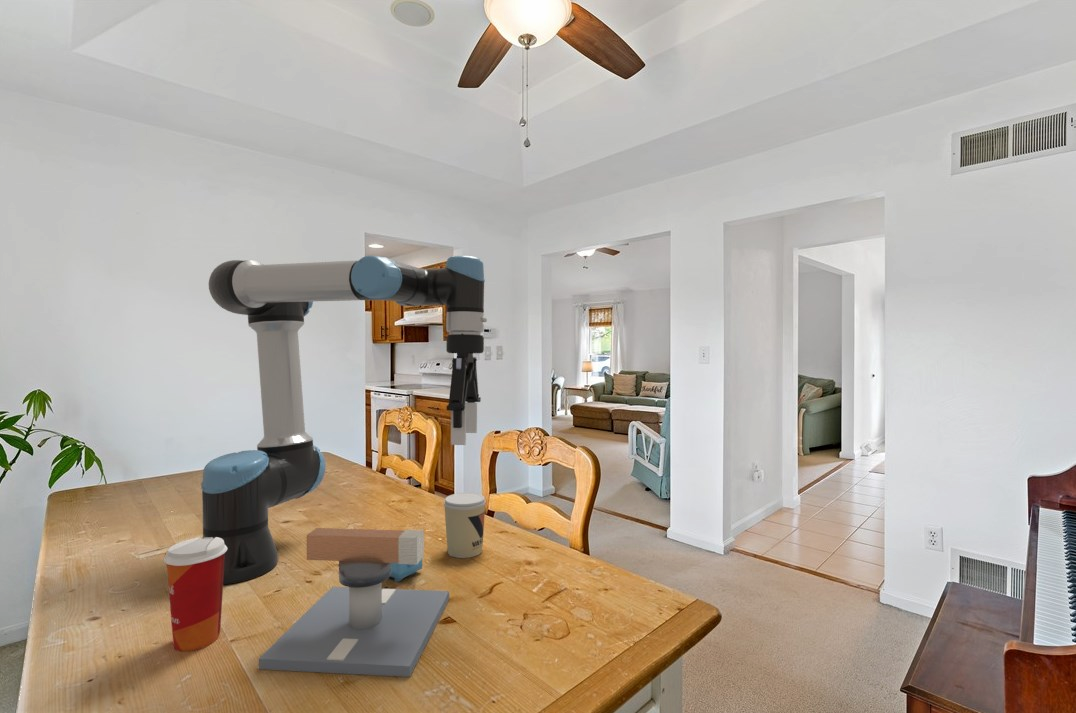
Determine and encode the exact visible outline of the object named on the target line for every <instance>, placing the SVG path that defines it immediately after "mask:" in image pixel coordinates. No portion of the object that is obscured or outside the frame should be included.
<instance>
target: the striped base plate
mask: <svg viewBox="0 0 1076 713" xmlns="http://www.w3.org/2000/svg"><path fill="white" fill-rule="evenodd" d="M382 583H383V582H382ZM382 583H379V584H376V585H373V586H369V587H360V588H353V587H347V586H331V588H329V589H328V590H327V592H326V593H324V595H322V596H321V597H320V599H318V600H317V601H316V602H314V604H313V605H312V606H311V607H310V608H309V609H308V610H307V611H306V612H305V613H304V614H303V615H302V616H301V617H300V618H299V619H297V621H295V622H294V624H293V625H292V626H291V627H290V628H288V629H287V631H285V632H284V633H283V634H282V635H281V636H280V637H279V638H277V640H276V641H275V642H274V643H273V644H272V645H271V646H270V647H269V648H268V649H267V650H266V651H265V652H264V653H263V654H262V655H260V657H259V658H258V670H265V669H266V670H267V669H268V670H269V671H285V672H286V670H287V672H305V671H306V672H307V673H322V674H323V673H324V674H325V673H326V674H327V673H328V674H344V675H345V674H346V675H347V674H348V675H361V676H362V675H366V676H367V675H368V676H383V677H385V676H386V677H403V678H405V677H406V678H410V677H411V676H412V673H413V671H414V669H415V668H416V665H417V663H418V662H419V659H420V658H421V656H422V654H423V652H424V650H425V648H426V646H427V645H428V642H429V640H430V638H431V636H432V634H433V633H434V630H435V628H436V627H437V625H438V623H439V620H440V618H441V617H442V615H443V613H444V611H445V609H446V607H447V605H448V602H449V601H450V591H449V590H434V589H433V590H431V589H429V590H428V589H408V588H407V589H404V588H402V589H401V588H382V586H383V584H382ZM289 670H290V671H289ZM306 672H305V673H306Z"/></svg>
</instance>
